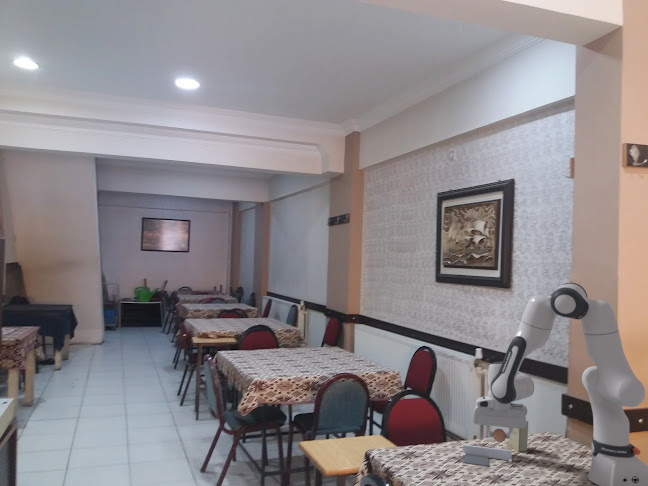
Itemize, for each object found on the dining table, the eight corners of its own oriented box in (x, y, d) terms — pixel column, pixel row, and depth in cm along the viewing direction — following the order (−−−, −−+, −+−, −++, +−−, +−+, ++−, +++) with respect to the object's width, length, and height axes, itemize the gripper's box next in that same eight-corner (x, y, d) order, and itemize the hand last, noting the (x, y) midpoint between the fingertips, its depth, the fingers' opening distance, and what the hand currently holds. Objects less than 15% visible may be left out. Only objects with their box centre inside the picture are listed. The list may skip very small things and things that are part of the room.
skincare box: (508, 446, 213) (509, 416, 214) (517, 445, 215) (518, 416, 215) (518, 452, 207) (519, 421, 208) (528, 451, 209) (528, 420, 209)
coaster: (488, 458, 199) (488, 457, 199) (489, 466, 191) (489, 465, 191) (464, 454, 202) (464, 454, 202) (464, 463, 193) (464, 462, 193)
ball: (505, 440, 207) (505, 427, 207) (506, 444, 202) (506, 431, 203) (492, 439, 209) (492, 426, 209) (492, 443, 204) (492, 430, 204)
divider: (510, 457, 200) (510, 448, 201) (511, 462, 196) (511, 453, 196) (462, 451, 205) (462, 442, 205) (462, 456, 200) (462, 446, 200)
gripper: (526, 402, 206) (526, 437, 206) (473, 398, 212) (473, 432, 212) (527, 406, 200) (527, 442, 199) (472, 402, 206) (472, 437, 205)
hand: (499, 437), depth 206 cm, fingers closed on ball, 5 cm apart
